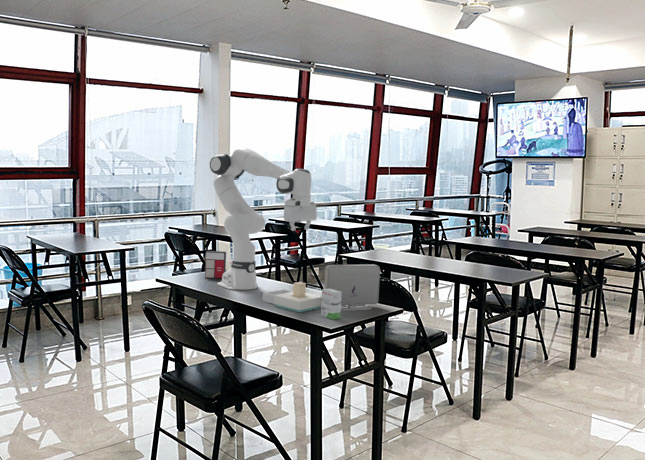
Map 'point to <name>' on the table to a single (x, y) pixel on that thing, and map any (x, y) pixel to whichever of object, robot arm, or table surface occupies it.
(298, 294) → the plug
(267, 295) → the holster
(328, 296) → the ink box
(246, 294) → the table surface
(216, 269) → the red and grey box
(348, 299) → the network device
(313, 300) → the block
